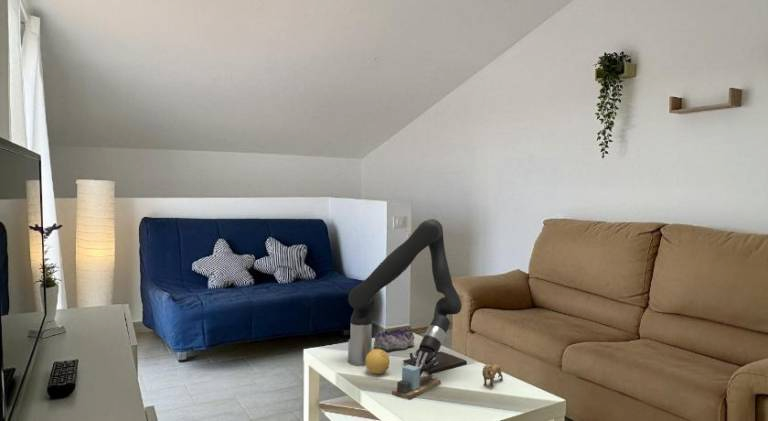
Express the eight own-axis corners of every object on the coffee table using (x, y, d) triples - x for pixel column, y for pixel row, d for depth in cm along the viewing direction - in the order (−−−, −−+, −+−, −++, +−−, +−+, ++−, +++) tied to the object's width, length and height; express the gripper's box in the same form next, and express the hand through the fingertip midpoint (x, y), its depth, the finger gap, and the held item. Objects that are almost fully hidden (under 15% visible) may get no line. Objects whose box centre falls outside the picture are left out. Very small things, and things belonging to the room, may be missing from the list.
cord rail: (392, 394, 203) (392, 380, 203) (423, 379, 220) (424, 366, 220) (409, 399, 199) (410, 385, 198) (440, 383, 215) (441, 370, 215)
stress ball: (382, 379, 219) (383, 354, 218) (360, 374, 223) (361, 350, 223) (393, 371, 228) (394, 347, 227) (372, 367, 232) (373, 344, 232)
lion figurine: (492, 390, 209) (493, 367, 209) (479, 387, 212) (479, 364, 211) (504, 379, 222) (505, 357, 221) (492, 376, 225) (492, 354, 224)
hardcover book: (402, 365, 237) (402, 360, 237) (440, 356, 252) (440, 351, 251) (428, 376, 225) (428, 371, 225) (466, 365, 239) (467, 360, 239)
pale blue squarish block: (401, 386, 206) (402, 367, 205) (407, 383, 209) (408, 364, 208) (413, 390, 202) (413, 370, 202) (419, 387, 206) (419, 367, 205)
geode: (405, 341, 272) (407, 322, 270) (418, 351, 262) (421, 331, 261) (369, 345, 261) (371, 325, 260) (381, 355, 252) (384, 334, 250)
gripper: (415, 331, 218) (396, 369, 209) (444, 337, 210) (425, 378, 201) (422, 341, 223) (404, 379, 214) (450, 348, 215) (432, 388, 206)
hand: (414, 378), depth 208 cm, fingers closed
